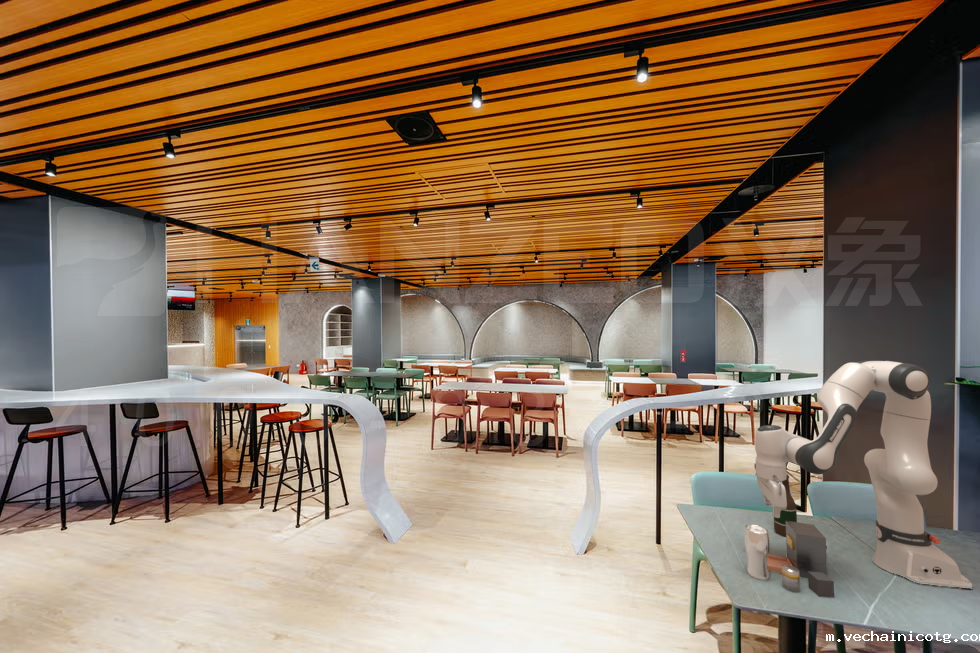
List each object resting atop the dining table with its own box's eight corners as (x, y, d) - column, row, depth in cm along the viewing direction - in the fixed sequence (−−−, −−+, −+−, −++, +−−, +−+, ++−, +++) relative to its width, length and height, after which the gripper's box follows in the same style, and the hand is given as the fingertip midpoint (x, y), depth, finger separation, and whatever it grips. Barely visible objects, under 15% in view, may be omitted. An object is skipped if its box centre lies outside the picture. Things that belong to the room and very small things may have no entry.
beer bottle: (769, 528, 160) (767, 470, 161) (789, 529, 159) (788, 471, 160) (781, 537, 152) (779, 476, 153) (802, 539, 151) (800, 477, 152)
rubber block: (823, 588, 121) (823, 572, 121) (834, 597, 117) (833, 581, 117) (808, 587, 121) (807, 571, 122) (818, 596, 117) (818, 579, 117)
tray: (788, 563, 134) (788, 558, 135) (796, 576, 127) (796, 570, 127) (761, 558, 137) (760, 553, 138) (767, 570, 130) (767, 565, 130)
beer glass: (763, 583, 123) (762, 536, 124) (740, 571, 130) (739, 526, 130) (774, 577, 127) (773, 531, 127) (752, 566, 133) (751, 522, 133)
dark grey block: (816, 565, 133) (815, 524, 134) (829, 582, 124) (827, 538, 124) (785, 560, 136) (784, 520, 137) (795, 576, 127) (794, 533, 128)
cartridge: (797, 585, 122) (796, 566, 123) (802, 594, 118) (802, 574, 118) (779, 582, 124) (779, 563, 124) (784, 590, 120) (784, 571, 120)
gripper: (792, 483, 125) (793, 526, 124) (772, 464, 144) (774, 501, 143) (768, 480, 127) (770, 522, 127) (753, 462, 146) (754, 499, 146)
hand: (772, 511), depth 135 cm, fingers open, 8 cm apart
